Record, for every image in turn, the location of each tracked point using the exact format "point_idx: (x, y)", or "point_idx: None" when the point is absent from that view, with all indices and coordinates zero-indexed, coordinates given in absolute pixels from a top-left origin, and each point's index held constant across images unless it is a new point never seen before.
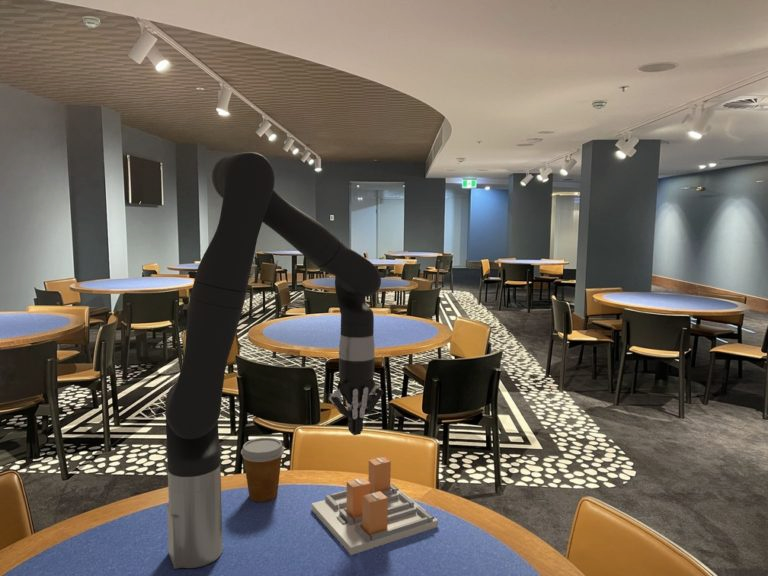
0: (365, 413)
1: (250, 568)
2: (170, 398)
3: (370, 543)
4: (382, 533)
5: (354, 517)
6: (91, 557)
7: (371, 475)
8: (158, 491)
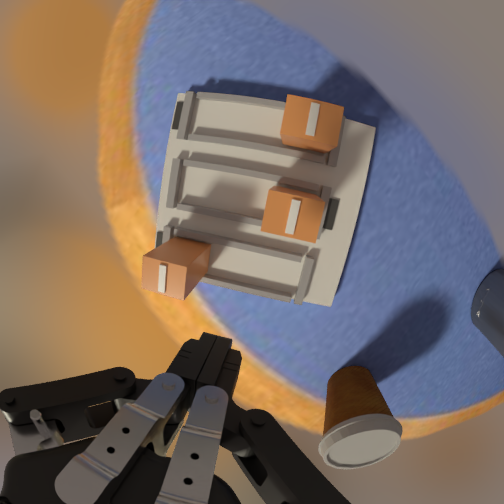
0: (142, 383)
1: (482, 222)
2: None
3: None
4: None
5: (313, 194)
6: None
7: (197, 272)
8: (415, 437)
